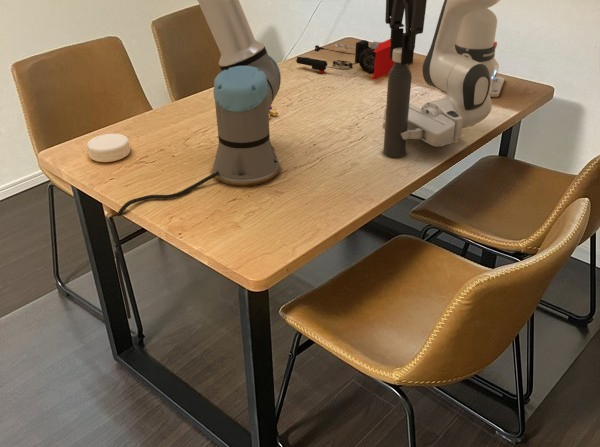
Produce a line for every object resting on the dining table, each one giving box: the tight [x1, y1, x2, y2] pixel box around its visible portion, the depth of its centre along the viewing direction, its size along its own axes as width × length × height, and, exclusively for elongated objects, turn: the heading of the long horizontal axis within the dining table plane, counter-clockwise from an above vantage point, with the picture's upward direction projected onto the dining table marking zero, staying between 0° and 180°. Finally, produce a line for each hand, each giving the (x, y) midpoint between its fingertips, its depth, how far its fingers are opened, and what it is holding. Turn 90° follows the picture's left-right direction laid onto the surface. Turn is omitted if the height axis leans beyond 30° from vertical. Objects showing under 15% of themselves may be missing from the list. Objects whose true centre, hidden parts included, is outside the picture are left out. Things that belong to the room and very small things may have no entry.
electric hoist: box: [295, 38, 395, 81], centre depth 208 cm, size 10×27×30 cm
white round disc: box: [86, 133, 131, 163], centre depth 153 cm, size 10×10×4 cm
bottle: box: [382, 62, 413, 159], centre depth 146 cm, size 5×5×25 cm
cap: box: [392, 48, 402, 63], centre depth 140 cm, size 4×4×2 cm
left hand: (401, 60), depth 141 cm, fingers closed on cap, 4 cm apart
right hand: (393, 130), depth 149 cm, fingers closed on bottle, 5 cm apart
